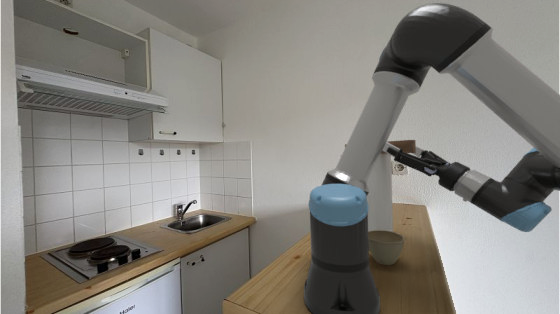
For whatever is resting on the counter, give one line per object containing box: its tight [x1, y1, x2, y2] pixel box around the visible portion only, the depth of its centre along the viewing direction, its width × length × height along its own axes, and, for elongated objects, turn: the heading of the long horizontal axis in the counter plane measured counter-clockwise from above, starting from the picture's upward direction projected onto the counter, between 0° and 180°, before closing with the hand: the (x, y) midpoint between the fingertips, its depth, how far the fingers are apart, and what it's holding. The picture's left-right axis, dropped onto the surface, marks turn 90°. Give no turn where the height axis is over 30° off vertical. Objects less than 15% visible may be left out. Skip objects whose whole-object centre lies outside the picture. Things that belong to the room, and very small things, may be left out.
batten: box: [344, 139, 417, 154], centre depth 79 cm, size 4×24×4 cm, turn 35°
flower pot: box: [368, 230, 405, 266], centre depth 63 cm, size 10×10×7 cm
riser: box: [340, 154, 394, 232], centre depth 82 cm, size 10×14×30 cm
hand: (392, 144), depth 74 cm, fingers open, 13 cm apart
